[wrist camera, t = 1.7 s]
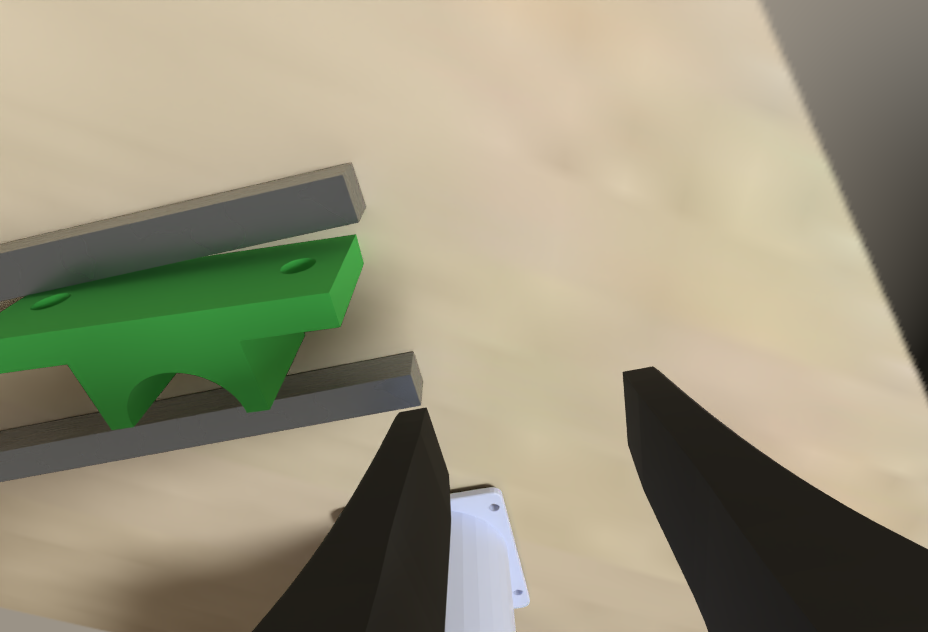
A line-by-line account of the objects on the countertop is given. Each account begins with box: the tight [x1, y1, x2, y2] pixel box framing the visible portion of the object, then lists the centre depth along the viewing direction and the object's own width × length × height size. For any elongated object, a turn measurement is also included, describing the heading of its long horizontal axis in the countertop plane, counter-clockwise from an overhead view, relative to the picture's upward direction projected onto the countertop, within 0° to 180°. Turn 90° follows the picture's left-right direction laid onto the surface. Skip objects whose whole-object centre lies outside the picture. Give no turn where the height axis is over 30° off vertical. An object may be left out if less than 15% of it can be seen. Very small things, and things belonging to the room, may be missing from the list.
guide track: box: [0, 163, 423, 482], centre depth 19 cm, size 9×22×2 cm, turn 102°
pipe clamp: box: [0, 234, 364, 430], centre depth 17 cm, size 11×4×5 cm, turn 98°
